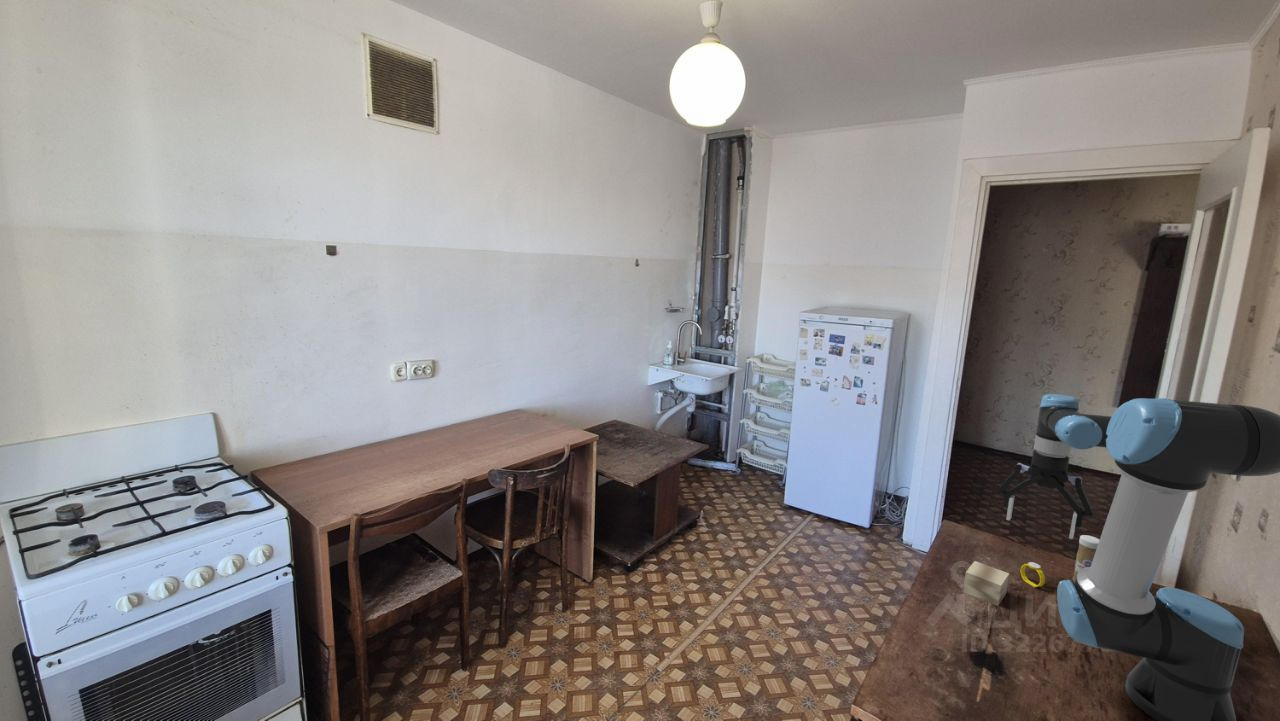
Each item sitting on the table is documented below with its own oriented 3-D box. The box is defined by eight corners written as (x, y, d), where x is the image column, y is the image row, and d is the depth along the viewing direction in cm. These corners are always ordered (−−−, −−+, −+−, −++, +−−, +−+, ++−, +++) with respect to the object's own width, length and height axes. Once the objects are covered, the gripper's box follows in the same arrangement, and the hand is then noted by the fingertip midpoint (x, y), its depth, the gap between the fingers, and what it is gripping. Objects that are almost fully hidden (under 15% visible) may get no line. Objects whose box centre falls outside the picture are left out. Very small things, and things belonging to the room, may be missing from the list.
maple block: (1006, 593, 138) (1009, 573, 137) (997, 606, 132) (1001, 585, 131) (972, 580, 144) (974, 560, 143) (962, 592, 138) (965, 571, 137)
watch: (1044, 590, 140) (1049, 571, 138) (1036, 591, 139) (1041, 572, 138) (1024, 576, 145) (1028, 557, 144) (1016, 577, 145) (1020, 559, 143)
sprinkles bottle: (1076, 586, 141) (1084, 541, 139) (1069, 576, 146) (1077, 533, 143) (1097, 589, 140) (1105, 544, 137) (1089, 580, 144) (1097, 536, 142)
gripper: (1116, 462, 129) (1101, 539, 133) (998, 438, 146) (988, 507, 150) (1114, 470, 124) (1099, 550, 128) (992, 444, 141) (981, 516, 145)
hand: (1039, 527), depth 139 cm, fingers open, 13 cm apart
